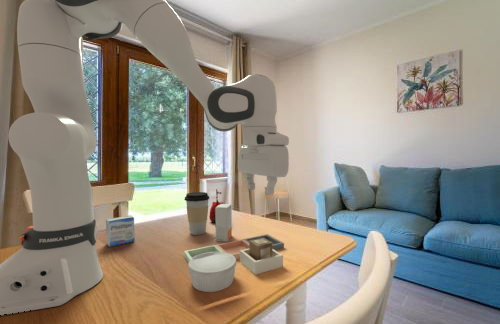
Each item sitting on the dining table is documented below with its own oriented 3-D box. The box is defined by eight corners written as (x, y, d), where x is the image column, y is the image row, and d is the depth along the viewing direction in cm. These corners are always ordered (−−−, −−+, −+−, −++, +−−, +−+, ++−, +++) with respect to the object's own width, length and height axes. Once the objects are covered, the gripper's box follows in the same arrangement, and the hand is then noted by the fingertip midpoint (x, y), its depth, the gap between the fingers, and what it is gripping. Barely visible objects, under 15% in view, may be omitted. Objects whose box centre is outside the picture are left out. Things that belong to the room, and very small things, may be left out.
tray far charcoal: (257, 256, 70) (257, 249, 70) (242, 245, 79) (242, 239, 79) (284, 249, 75) (283, 243, 75) (267, 239, 83) (267, 234, 83)
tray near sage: (193, 271, 61) (192, 264, 61) (184, 257, 70) (184, 250, 70) (227, 263, 66) (227, 256, 66) (215, 251, 74) (215, 244, 74)
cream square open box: (255, 276, 58) (254, 262, 58) (239, 263, 66) (239, 250, 66) (283, 268, 62) (282, 255, 62) (265, 256, 70) (265, 244, 70)
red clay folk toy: (227, 219, 110) (227, 187, 109) (224, 224, 103) (224, 189, 102) (211, 219, 110) (210, 187, 110) (207, 223, 103) (206, 189, 103)
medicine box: (109, 247, 78) (108, 221, 78) (106, 244, 81) (105, 218, 81) (135, 241, 83) (134, 216, 83) (131, 238, 87) (130, 214, 86)
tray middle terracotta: (227, 263, 66) (227, 256, 66) (215, 251, 74) (215, 244, 74) (257, 255, 70) (257, 249, 70) (242, 245, 79) (242, 239, 79)
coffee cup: (215, 231, 93) (214, 192, 93) (197, 238, 86) (197, 196, 85) (197, 227, 99) (196, 191, 98) (179, 233, 91) (178, 194, 90)
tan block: (258, 269, 61) (257, 245, 61) (249, 262, 65) (249, 240, 65) (272, 265, 63) (272, 242, 63) (263, 258, 67) (263, 237, 67)
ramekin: (216, 266, 64) (216, 247, 64) (246, 281, 56) (246, 259, 56) (179, 283, 56) (178, 261, 56) (207, 303, 48) (207, 278, 48)
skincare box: (227, 242, 81) (226, 207, 80) (215, 242, 82) (214, 207, 81) (232, 236, 87) (231, 203, 86) (221, 236, 88) (220, 203, 87)
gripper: (232, 141, 71) (232, 187, 71) (270, 136, 53) (270, 199, 53) (251, 141, 74) (251, 186, 74) (293, 137, 56) (293, 196, 56)
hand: (259, 191), depth 63 cm, fingers open, 8 cm apart
